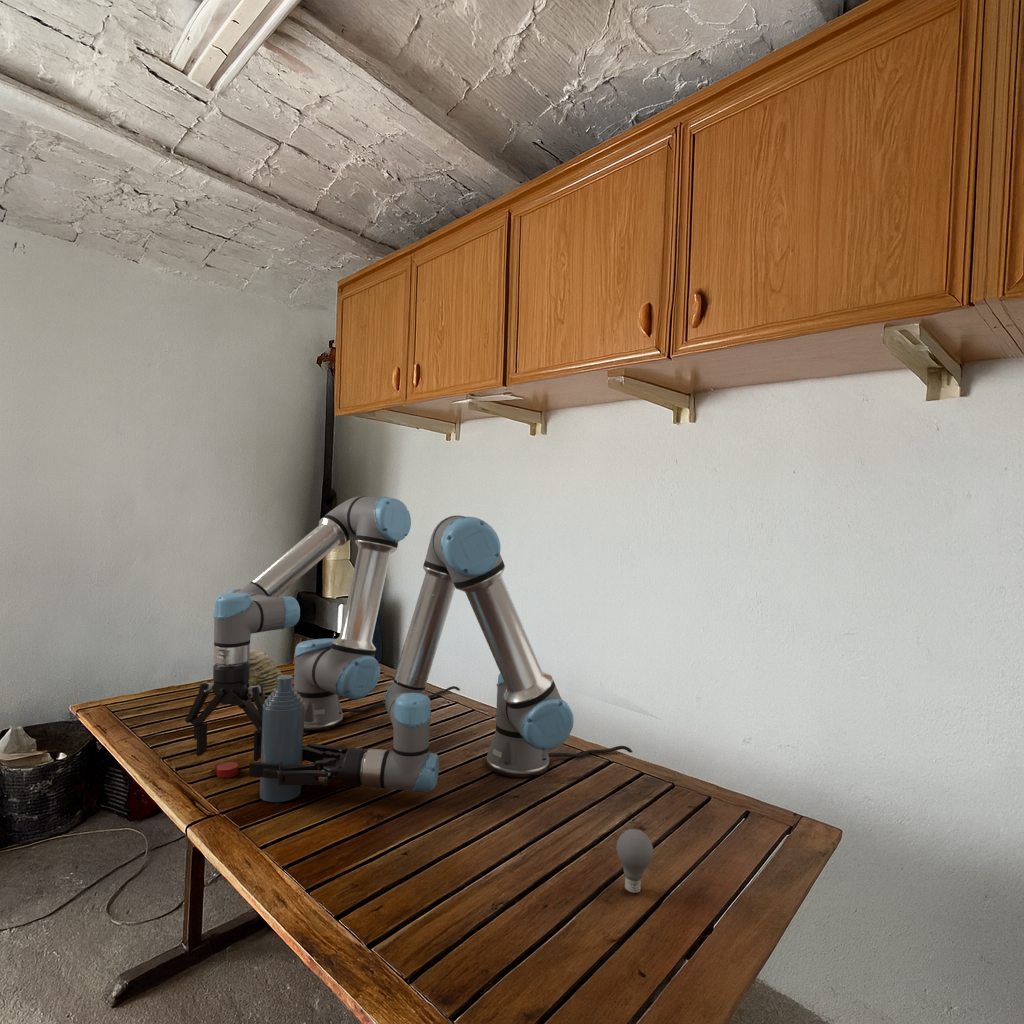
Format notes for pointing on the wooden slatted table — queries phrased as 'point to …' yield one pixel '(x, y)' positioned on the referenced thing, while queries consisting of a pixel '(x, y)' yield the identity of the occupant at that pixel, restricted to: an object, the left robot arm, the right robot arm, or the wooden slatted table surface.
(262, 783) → the bottle
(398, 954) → the wooden slatted table surface
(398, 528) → the left robot arm
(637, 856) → the light bulb
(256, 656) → the fossil
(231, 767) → the cap
